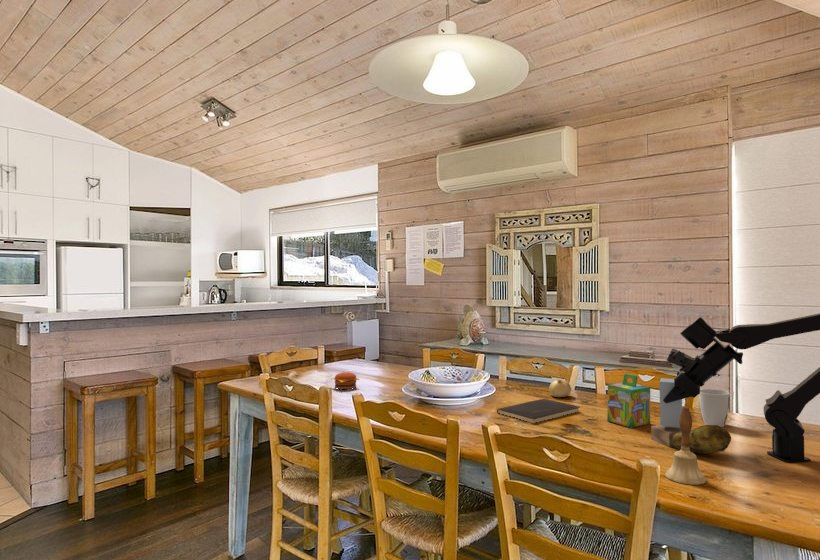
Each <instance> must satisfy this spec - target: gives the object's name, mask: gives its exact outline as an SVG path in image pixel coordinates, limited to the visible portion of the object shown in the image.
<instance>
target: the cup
mask: <svg viewBox="0 0 820 560" xmlns="http://www.w3.org/2000/svg"><path fill="white" fill-rule="evenodd" d="M698 397H699V407H700V411H701V412H700V413H701V417H702V419H703V422H704V425H705V424H706V425H717V426H720V427H721V428H724V427H725V425H726V422H727V420H728V414H729V408H730V397H731V393H730V392H729V391H726V390H722V389H714V388H713V389H712V388H702V389H701V388H700V394H698Z"/></svg>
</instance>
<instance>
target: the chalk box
mask: <svg viewBox="0 0 820 560" xmlns="http://www.w3.org/2000/svg"><path fill="white" fill-rule="evenodd" d="M628 379H631V380H632V382H628ZM637 380H638V375H634V374H629V373H624V374H623V378H622V382H620V383H619V382H618V383H612V384H607V408H606V409H607V410H606V412H607V415H606V416H607V418H606V421H607V422H609V423H614V424H617V425H621V426H623V427H626V428H629V429H633V428H637V427H641V426H647V425H651V387H650V386H647V385H643V384H638V383H637V382H638V381H637Z"/></svg>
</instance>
